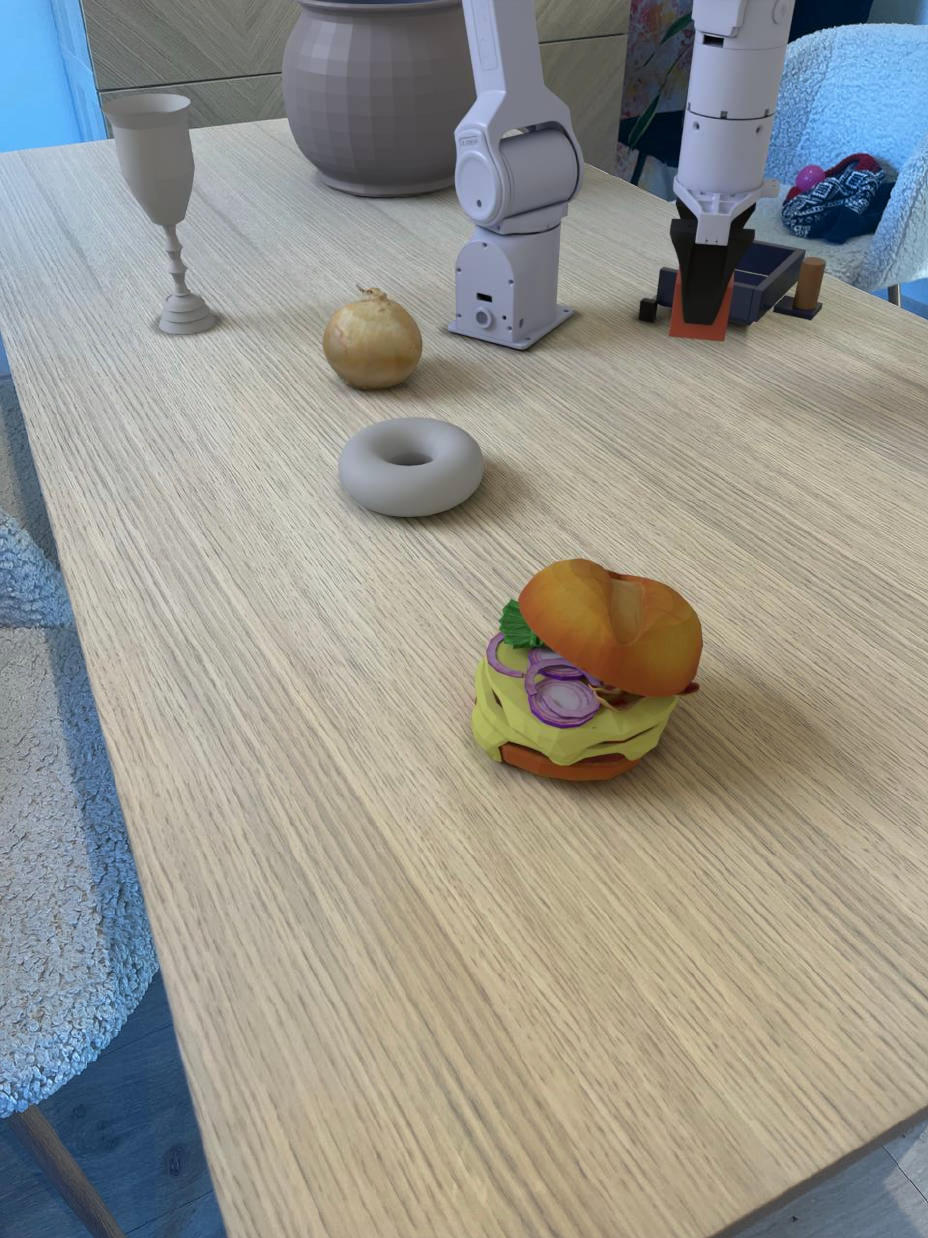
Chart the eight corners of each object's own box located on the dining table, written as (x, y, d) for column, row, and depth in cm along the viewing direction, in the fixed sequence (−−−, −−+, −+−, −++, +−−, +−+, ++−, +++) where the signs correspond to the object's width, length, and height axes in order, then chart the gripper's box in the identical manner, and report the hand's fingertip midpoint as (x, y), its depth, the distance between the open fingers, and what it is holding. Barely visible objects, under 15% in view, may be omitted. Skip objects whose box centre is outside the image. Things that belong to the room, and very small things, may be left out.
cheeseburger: (429, 688, 54) (468, 526, 49) (595, 670, 59) (647, 521, 53) (513, 824, 47) (570, 650, 41) (694, 790, 51) (766, 631, 46)
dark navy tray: (697, 266, 99) (705, 215, 96) (836, 294, 93) (848, 242, 90) (646, 307, 91) (652, 254, 88) (794, 341, 86) (806, 286, 83)
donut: (309, 496, 69) (423, 544, 64) (303, 451, 67) (420, 498, 62) (403, 437, 75) (513, 477, 70) (400, 395, 73) (513, 433, 68)
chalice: (206, 342, 88) (166, 117, 76) (134, 336, 89) (84, 113, 78) (237, 309, 94) (205, 95, 82) (169, 303, 95) (127, 91, 83)
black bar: (698, 270, 100) (700, 252, 99) (711, 272, 100) (714, 254, 99) (637, 319, 91) (639, 300, 90) (652, 322, 91) (654, 303, 90)
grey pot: (263, 164, 129) (240, -18, 117) (437, 138, 138) (433, -33, 126) (338, 221, 112) (321, 16, 100) (531, 187, 121) (538, -5, 109)
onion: (443, 379, 82) (442, 294, 78) (365, 410, 78) (358, 323, 74) (383, 348, 87) (378, 266, 82) (306, 376, 83) (297, 291, 78)
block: (724, 341, 74) (733, 288, 71) (668, 336, 74) (675, 283, 72) (725, 319, 77) (734, 267, 74) (672, 315, 77) (679, 263, 75)
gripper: (796, 142, 60) (754, 357, 68) (791, 86, 71) (756, 277, 79) (675, 135, 61) (649, 347, 70) (689, 81, 72) (665, 270, 81)
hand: (699, 310), depth 75 cm, fingers closed on block, 4 cm apart
